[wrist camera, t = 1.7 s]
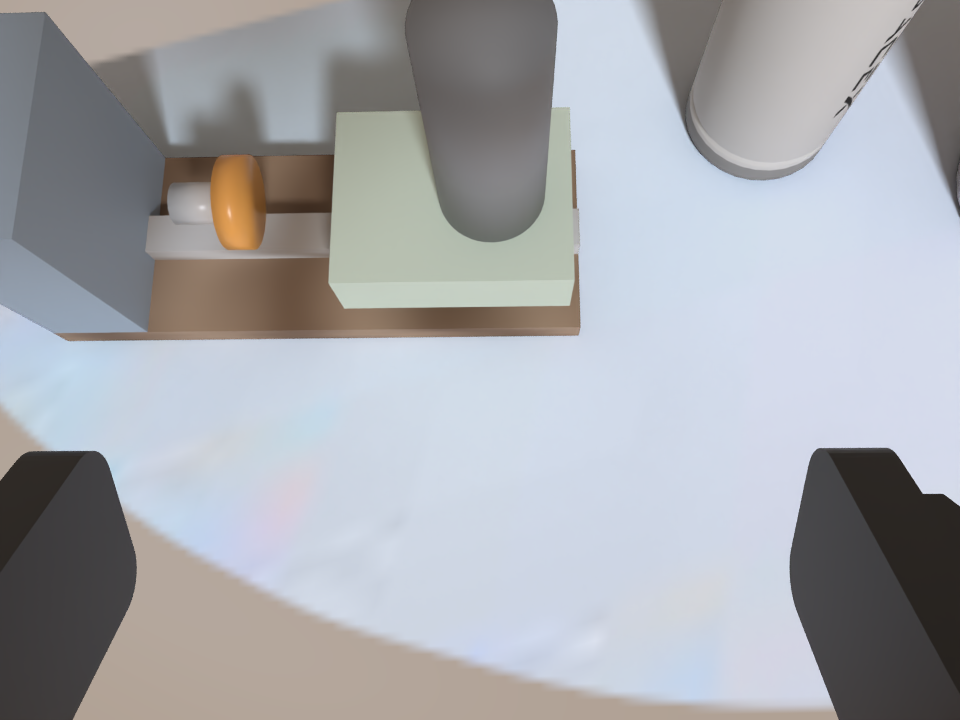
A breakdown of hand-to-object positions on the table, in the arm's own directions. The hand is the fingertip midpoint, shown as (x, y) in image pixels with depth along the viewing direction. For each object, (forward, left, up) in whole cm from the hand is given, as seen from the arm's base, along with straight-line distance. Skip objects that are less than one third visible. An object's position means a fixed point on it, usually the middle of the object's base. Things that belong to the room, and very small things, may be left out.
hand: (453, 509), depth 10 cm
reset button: (+11, -13, -22) cm, 28 cm away
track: (+8, -13, -25) cm, 29 cm away
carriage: (+2, -13, -22) cm, 26 cm away
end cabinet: (+17, -13, -24) cm, 32 cm away
